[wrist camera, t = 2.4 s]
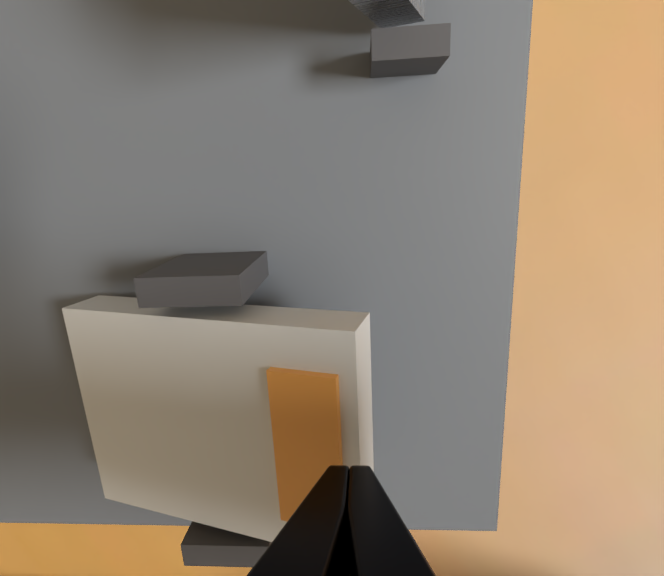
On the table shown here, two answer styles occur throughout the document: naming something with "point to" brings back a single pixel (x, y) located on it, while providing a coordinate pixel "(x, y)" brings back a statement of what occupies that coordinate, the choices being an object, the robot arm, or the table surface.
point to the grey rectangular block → (392, 11)
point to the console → (264, 220)
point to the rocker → (221, 405)
